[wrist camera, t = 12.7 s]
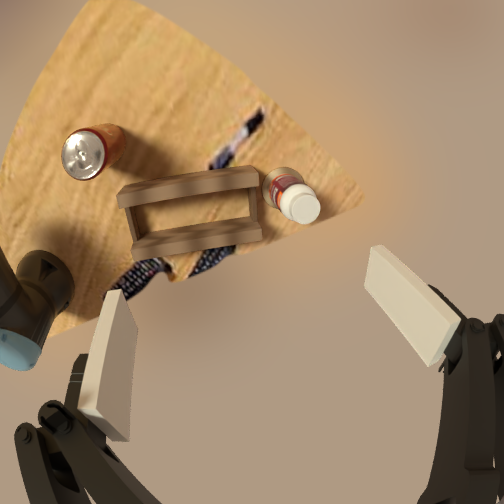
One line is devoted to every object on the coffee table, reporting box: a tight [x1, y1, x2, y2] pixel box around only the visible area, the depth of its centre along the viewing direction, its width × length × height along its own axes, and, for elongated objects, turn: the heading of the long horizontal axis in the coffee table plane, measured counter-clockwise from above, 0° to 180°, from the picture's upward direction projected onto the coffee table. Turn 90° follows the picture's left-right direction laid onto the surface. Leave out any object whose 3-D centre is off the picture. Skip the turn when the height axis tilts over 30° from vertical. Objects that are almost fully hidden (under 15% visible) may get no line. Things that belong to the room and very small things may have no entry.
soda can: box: [61, 124, 126, 181], centre depth 34 cm, size 7×7×12 cm
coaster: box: [262, 167, 304, 209], centre depth 50 cm, size 8×8×1 cm
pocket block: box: [116, 165, 262, 261], centre depth 46 cm, size 22×12×6 cm, turn 94°
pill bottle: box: [268, 173, 320, 224], centre depth 45 cm, size 6×6×11 cm
